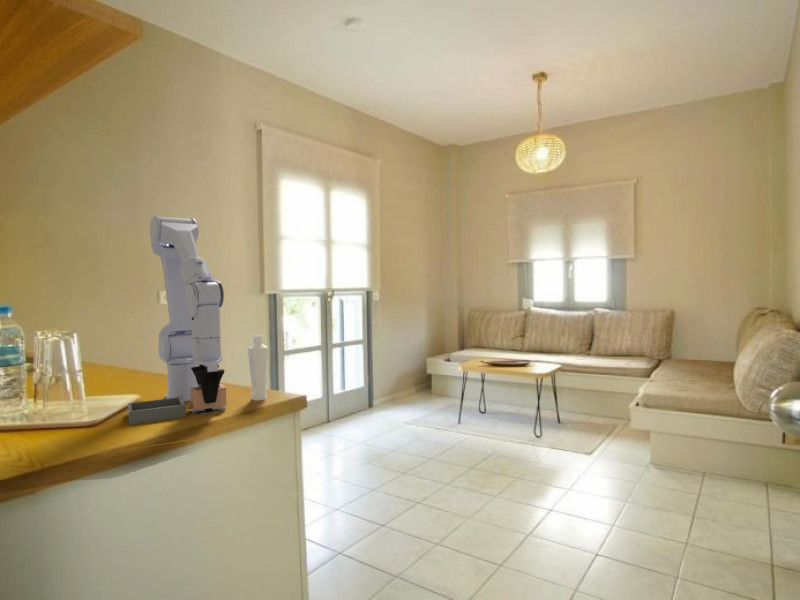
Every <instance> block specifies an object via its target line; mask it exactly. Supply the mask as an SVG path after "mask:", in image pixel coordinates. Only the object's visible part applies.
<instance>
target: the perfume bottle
mask: <svg viewBox="0 0 800 600" xmlns="http://www.w3.org/2000/svg"><path fill="white" fill-rule="evenodd" d="M252 337H253V344H252V345H250V346H249V347H247V354H248V362H249V363H248V364H249V374H250V383H251V392H252V393H251V398H250V399H251V400H252V401H254V402H255V401H256V402H257V401H265V400H267V399H268V397H269V396H268V394H267V375H268V373H267V372H268V350H269V349H268V348H269V347H268V346H267V345H266V344H263V335H253V336H252Z"/></svg>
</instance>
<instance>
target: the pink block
mask: <svg viewBox="0 0 800 600" xmlns="http://www.w3.org/2000/svg"><path fill="white" fill-rule="evenodd" d="M187 404H188V410H200V409H207V408H215V407H222V406H224V407H227V387H226V386H225V385H224V384H222V383H221V384H219V388H218V394H217V399H216V402H215V403H207V404H205V401H204V398H203V393H202V388H199V387H192V388H190V401H187Z"/></svg>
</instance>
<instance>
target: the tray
mask: <svg viewBox="0 0 800 600" xmlns="http://www.w3.org/2000/svg"><path fill="white" fill-rule="evenodd" d="M186 406H187V405H186V403H185V402H184V401H183V400H182V398H181V397H176V398H168V399H166V398H161V399H154V400H152V399H151V400H145V401H136V402H128V403H127V414H128V415H127V416H128V425H136V424H142V423H143V424H144V423H150V422H151V423H153V422H157V421H158V422H159V421H164V420H172V419H177V418H179V419H181V418H186V416H187V408H186Z"/></svg>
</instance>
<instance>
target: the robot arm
mask: <svg viewBox="0 0 800 600" xmlns="http://www.w3.org/2000/svg"><path fill="white" fill-rule="evenodd" d="M199 231H200V230H199V225H198V222H197V220H196V219H195V218H192V217H191V218H184V217H182V218H181V217H169V216H159V215H153V217H152V218H151V220H150V225H149V236H150V245H151V249H152V253H153V254H155V255H156V256H158V257H159V258H160V261H161V265H162V272H163V281H164V288H165V296H166V302H167V309H168V310H167V311H168V317H169V318H168V319H169V322H168V323H167V324H166V325H165V326H163V327H162V328H161V329H160V331H159V332H158V355H159V358H160V360H162V362H163V363H165V364H166V366H167V367H166V368H167V392H168V393H167V394H166V393H165V394H164V399H168V398H176V397H181V398H182V400H183V401H184V403H185V402H188V401H190V388H192V387H199V383H200V384H201V388H202V393H203V398H204V401H205V404H207V403H215V402H216V399H217V394H218V388H219V384H220V383H221V381H222V378H223V376H224V374H225V369H223V368H221V369H219V368H220V365H219V364H220V363H221V362H222V361H223V357H222V347H221V345H222V344H221V342H222V340H221V315H220V314H221V312H220V310H221V309H220V308H222V307H223V304H224V300H225V292H224V291H225V290H224V287H223V283H222V282H221V281H219V280H218V279H217V278H214V277H213V275H212V273H211V269H210V267H209V265H208V263H207V261H206V260H205V259H204V258H202V257H200V256H199V252H198V249H197V245H196V243H197V240H198V238H199Z"/></svg>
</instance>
